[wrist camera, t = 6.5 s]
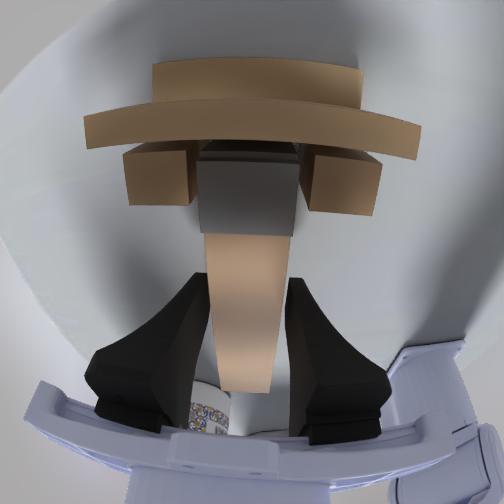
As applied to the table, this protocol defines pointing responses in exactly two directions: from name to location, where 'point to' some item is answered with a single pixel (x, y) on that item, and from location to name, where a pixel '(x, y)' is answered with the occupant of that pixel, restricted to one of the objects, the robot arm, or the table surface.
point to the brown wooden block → (247, 251)
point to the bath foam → (209, 409)
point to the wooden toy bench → (255, 128)
